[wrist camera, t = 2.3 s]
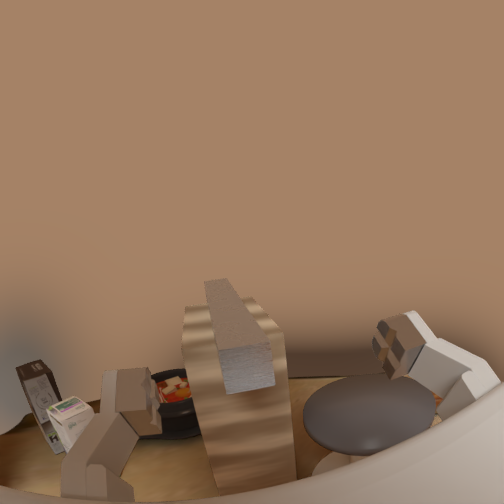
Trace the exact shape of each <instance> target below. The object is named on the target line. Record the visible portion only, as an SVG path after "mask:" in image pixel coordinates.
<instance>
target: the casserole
mask: <svg viewBox="0 0 504 504" xmlns="http://www.w3.org/2000/svg"><path fill="white" fill-rule="evenodd" d="M151 379H153V380H154V381H155V383H156V385H157V388H158V392H159V398H160V407H159V408H158V410H157V411H158V413H159V414H160V416H161V425H162V434H153V435H143V436H139V438H138V439H183V438H188V437H192V436H195V435H198V434H201V430H200V426H199V422H198V419H197V415H196V411H195V407H194V403H193V399H192V395H191V390H190V386H189V382H188V377H187V373H186V369H173V370H168V371H163V372H159V373H156V374H153V375H151Z"/></svg>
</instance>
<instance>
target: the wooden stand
mask: <svg viewBox="0 0 504 504" xmlns="http://www.w3.org/2000/svg"><path fill="white" fill-rule="evenodd" d="M240 299H241V300H242V302H243V303H244V304H245V306H246V307H247V309H248V310H249V312H250V313H251V314H252V316H253V317H254V319H255V320H256V322H257V323H258V324H259V326H260V327H261V329H262V330H263V331H264V333H265V334H266V336H267V337H268V338H269V340H270V343H271V351H272V360H273V368H274V377H275V385H274V386H270V387H265V388H260V389H255V390H250V391H244V392H239V393H233V394H226V390H225V385H224V381H223V376H222V372H221V367H220V363H219V358H218V353H217V348H216V344H215V339H214V334H213V329H212V324H211V319H210V314H209V309H208V303H207V304H200V305H193V306H186V307H185V317H184V327H183V337H182V348H181V350H182V355H183V359H184V364H185V368H186V373H187V377H188V382H189V386H190V390H191V395H192V399H193V403H194V407H195V411H196V415H197V419H198V422H199V426H200V430H201V434H202V437H203V441H204V445H205V448H206V452H207V455H208V459H209V462H210V465H211V469H212V472H213V475H214V478H215V482H216V485H217V488H218V491H219V494H220V496H225V495H232V494H238V493H243V492H249V491H254V490H259V489H264V488H268V487H273V486H277V485H281V484H285V483H289V482H293V481H297V475H296V462H295V450H294V438H293V427H292V416H291V405H290V394H289V384H288V374H287V364H286V354H285V344H284V335H283V332H282V330H281V329H280V328H279V327H278V326H277V325H276V324H275V323H274V321H273V320H272V319H271V318H270V317H269V316H268V315H267V314H266V313H265V311H264V310H263V309H262V308H261V307H260V306H259V305H258V304H257V303H256V301H255V300H254V299H253V298H252V297H246V298H240Z"/></svg>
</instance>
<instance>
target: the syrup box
mask: <svg viewBox="0 0 504 504" xmlns="http://www.w3.org/2000/svg"><path fill="white" fill-rule="evenodd" d="M46 411H47V413H48V416H49V418H50V421H51V423H52V425H53V427H54V429H55V432H56V434H57V436H58V438H59V440H60V442H61V444H62V446H63V448H64V450H65V452H66V454H67V453H68V452H69V450H70V449H71V447H72V446H73V445H74V443H75V442H76V440H77V439H78V438H79V436H80V435H81V433H82V432H83V431H84V429H85V428H86V426H87V425H88V424H89V422H90V421H91V419H92V418H93V417H94V415H95V413H94V411H93V408H92V407H91V406H89V405H88V404H87V403H85V402H84V401H82V400H81V399H79V398H77V397H75V396H72V397H70V398H68V399H65V400H63V401H61V402H59V403H56V404H54V405H52V406H50V407H48V408H46ZM120 476H121V474H120ZM120 476H119V477H120Z"/></svg>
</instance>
